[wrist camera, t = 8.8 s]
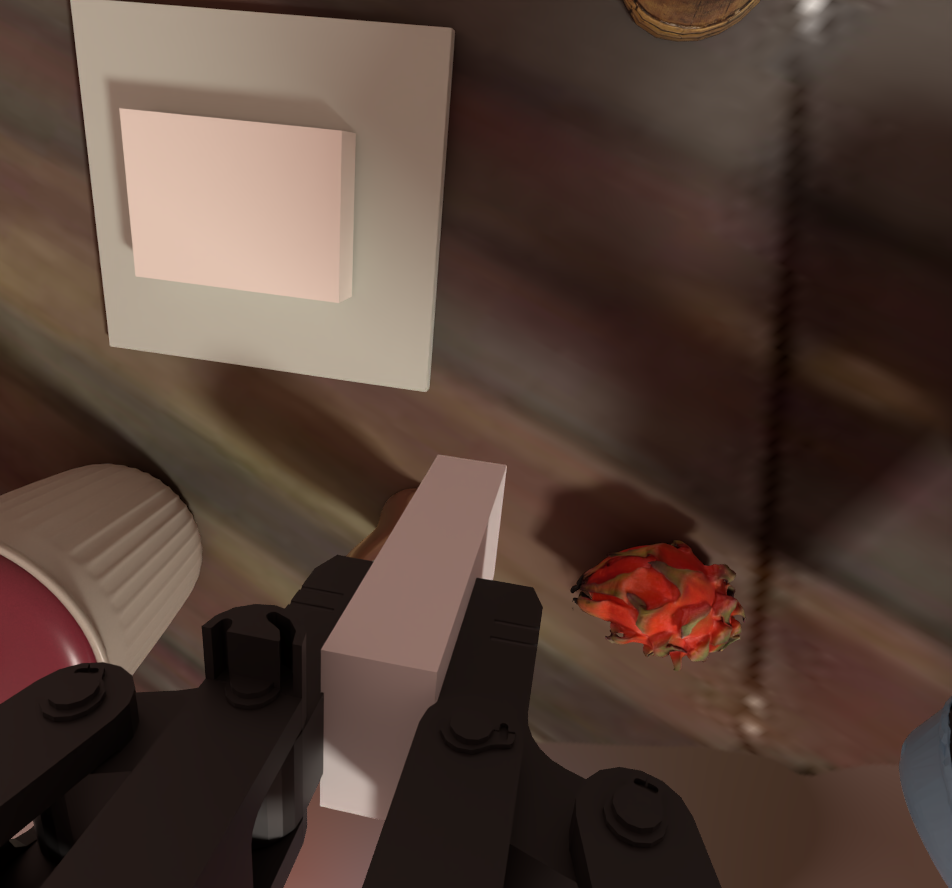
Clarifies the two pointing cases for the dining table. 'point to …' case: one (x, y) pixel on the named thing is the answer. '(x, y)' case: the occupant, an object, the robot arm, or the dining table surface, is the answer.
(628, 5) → the wooden mug
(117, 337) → the mat
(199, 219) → the pale pink rectangular block
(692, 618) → the dragon fruit
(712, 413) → the dining table surface
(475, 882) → the robot arm
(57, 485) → the canister
